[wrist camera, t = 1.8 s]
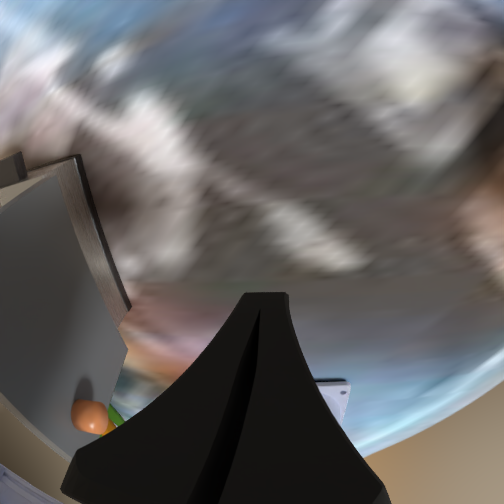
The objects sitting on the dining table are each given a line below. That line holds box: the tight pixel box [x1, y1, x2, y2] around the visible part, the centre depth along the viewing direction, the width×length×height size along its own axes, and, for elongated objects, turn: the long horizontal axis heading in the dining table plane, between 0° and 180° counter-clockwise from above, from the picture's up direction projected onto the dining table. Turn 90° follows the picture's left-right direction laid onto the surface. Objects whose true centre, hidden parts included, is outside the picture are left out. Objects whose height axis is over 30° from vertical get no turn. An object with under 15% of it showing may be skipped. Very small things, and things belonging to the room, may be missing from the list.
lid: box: [0, 175, 128, 463], centre depth 10 cm, size 10×8×2 cm
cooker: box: [0, 152, 132, 328], centre depth 16 cm, size 13×8×3 cm, turn 7°
